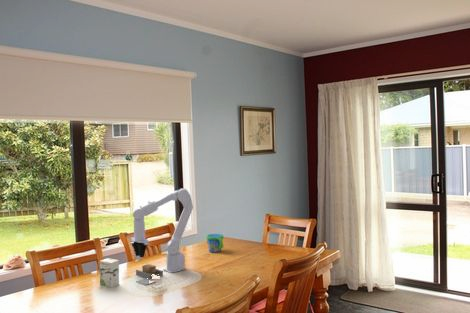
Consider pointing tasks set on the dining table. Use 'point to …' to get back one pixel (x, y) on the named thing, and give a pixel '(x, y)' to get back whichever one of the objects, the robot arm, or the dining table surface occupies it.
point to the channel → (147, 275)
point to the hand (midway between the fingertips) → (139, 256)
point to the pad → (144, 281)
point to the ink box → (109, 272)
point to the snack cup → (215, 242)
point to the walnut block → (149, 269)
